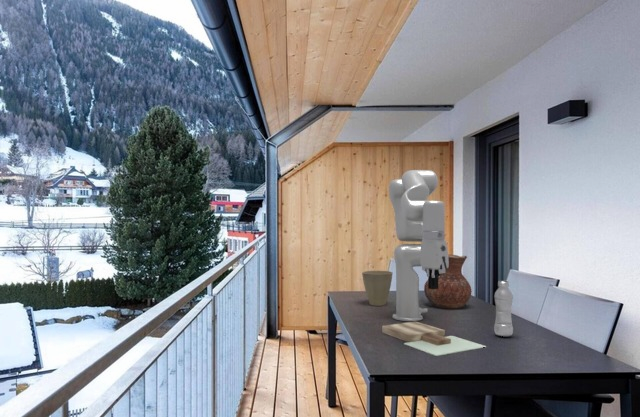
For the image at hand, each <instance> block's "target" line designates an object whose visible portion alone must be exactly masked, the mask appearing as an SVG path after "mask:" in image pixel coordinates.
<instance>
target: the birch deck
mask: <svg viewBox="0 0 640 417" xmlns="http://www.w3.org/2000/svg"><path fill="white" fill-rule="evenodd" d="M381 327H382V329H381V330H382V333H383V334H385V335H388V336H390V337H393V338H397V339H399V340H402V341H404V342H406V343H408V342H415V341H421V336H424V335H430V334H436V335H440V336H443V337H446V332H445V331H446V330H445V329H441V328H438V327H435V326H433V325H428V324H425V323H422V322H419V321H407V322H403V323H402V322H401V323H394V324H386V325H382V326H381Z"/></svg>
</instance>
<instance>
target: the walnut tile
mask: <svg viewBox="0 0 640 417" xmlns="http://www.w3.org/2000/svg"><path fill="white" fill-rule="evenodd" d="M446 337H447V336H445V337H443V336H440V335H436V334H430V335H424V336H421V340H422V341H425V342H428V343H431V344H434V345H437V346H439V345H444V344H450V343H451V339H449V338H446Z"/></svg>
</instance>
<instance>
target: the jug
mask: <svg viewBox="0 0 640 417" xmlns="http://www.w3.org/2000/svg"><path fill="white" fill-rule="evenodd" d="M467 258H468V257H467V255H456V254H450V253H448V259H449V266H448V268H447V269H445V273H442V274H441V275H440V277H439V278H438V289H429V288H428V279H427V280H426V281H425V284H424V288H423V290H424V291H423V292H424V295H425V297H426V300H427V301H428V302H429V303H430V304H431V305H432V306H433V307H436V308H441V309H460V308H463V307H464V306H465V305H466V304H467V303H468V302H469V300H470V299H471V297H472V287H471V284H470V282H469V281H468V280H467V278H466V277H465V276H464V275H463V271H462V270H463V266H464V263H465V261H466V260H467Z"/></svg>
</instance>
